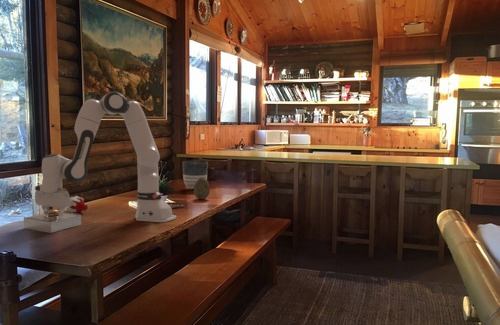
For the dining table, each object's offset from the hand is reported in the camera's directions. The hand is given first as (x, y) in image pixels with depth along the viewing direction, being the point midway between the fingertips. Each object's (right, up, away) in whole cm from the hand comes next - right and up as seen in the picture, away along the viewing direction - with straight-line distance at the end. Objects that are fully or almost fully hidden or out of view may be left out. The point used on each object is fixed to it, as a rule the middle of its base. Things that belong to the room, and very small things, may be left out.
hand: (53, 215), depth 205 cm
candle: (-1, -3, +32) cm, 32 cm away
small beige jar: (0, -6, +1) cm, 6 cm away
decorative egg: (+64, +1, +79) cm, 102 cm away
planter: (+54, +5, +121) cm, 132 cm away
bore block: (0, -6, +1) cm, 6 cm away
